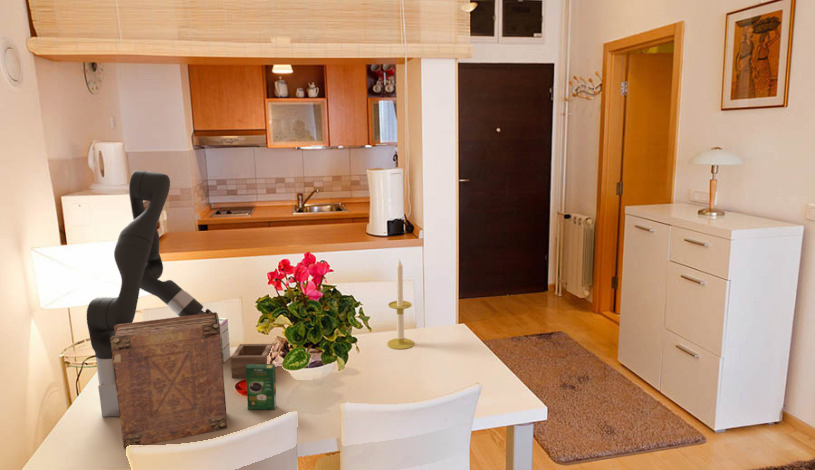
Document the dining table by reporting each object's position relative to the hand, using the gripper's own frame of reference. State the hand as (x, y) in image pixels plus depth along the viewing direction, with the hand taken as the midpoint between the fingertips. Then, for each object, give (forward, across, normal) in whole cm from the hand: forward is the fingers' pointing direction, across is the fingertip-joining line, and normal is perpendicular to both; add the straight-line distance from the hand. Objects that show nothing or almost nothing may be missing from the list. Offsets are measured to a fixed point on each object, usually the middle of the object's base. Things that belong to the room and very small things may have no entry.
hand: (221, 337), depth 190 cm
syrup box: (+5, 0, +7) cm, 9 cm away
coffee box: (+21, -34, -9) cm, 41 cm away
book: (+7, -45, +5) cm, 46 cm away
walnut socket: (+15, -9, -3) cm, 18 cm away
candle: (+50, +11, -38) cm, 63 cm away
